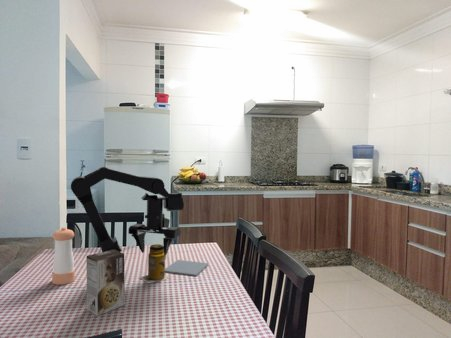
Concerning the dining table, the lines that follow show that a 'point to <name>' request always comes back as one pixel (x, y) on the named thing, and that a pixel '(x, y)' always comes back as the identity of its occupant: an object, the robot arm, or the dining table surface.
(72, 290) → the dining table surface
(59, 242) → the pepper shaker
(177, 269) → the plate
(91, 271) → the cookie box
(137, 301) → the dining table surface
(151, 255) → the condiment
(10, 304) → the dining table surface
